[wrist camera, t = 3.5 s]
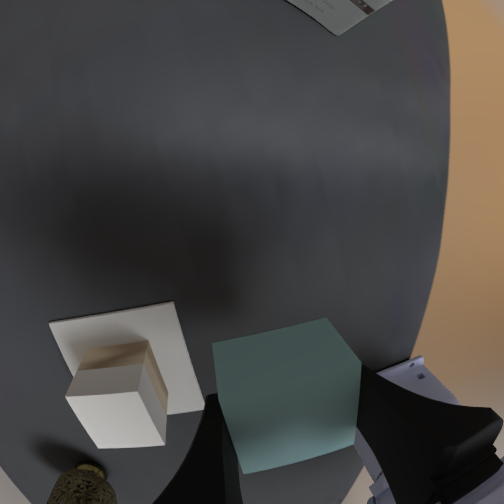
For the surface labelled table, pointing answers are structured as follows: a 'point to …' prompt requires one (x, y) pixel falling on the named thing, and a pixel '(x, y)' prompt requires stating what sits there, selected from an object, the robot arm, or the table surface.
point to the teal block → (288, 394)
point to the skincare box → (339, 12)
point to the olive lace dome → (83, 486)
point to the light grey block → (118, 407)
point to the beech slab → (128, 363)
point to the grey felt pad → (136, 330)
